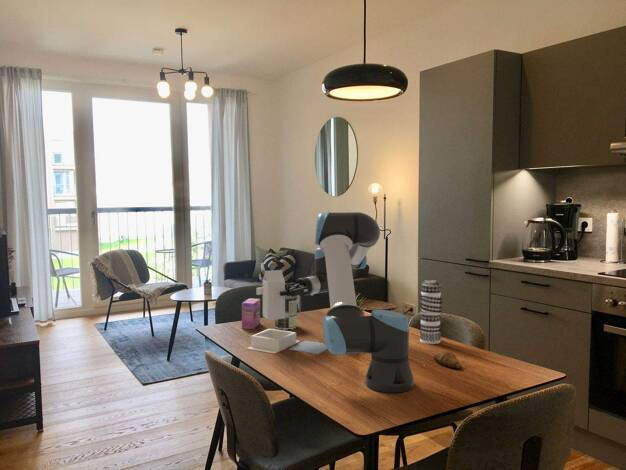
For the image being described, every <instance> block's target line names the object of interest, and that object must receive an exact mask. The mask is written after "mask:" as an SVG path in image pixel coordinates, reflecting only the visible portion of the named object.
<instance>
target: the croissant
mask: <svg viewBox="0 0 626 470" xmlns="http://www.w3.org/2000/svg"><path fill="white" fill-rule="evenodd" d="M433 360H435V362H437V363H438V364H440V365H441V366H445V367H447V366H448V368H450V367H451V369H453V368H455V369H454V370H460V369H461V366H462V365H461V364H460V361H459V358H457V355H456V354H455V353H453V352H450V351H443V352H438V353H435V354H433Z"/></svg>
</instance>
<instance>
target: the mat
mask: <svg viewBox="0 0 626 470" xmlns="http://www.w3.org/2000/svg"><path fill="white" fill-rule="evenodd" d="M288 350H289V351H293V352H294V351H295V352H300V353H305V354H311V355H321V354H322V353H324V352H326V351H328V349H327V347H326V345H325V342H324V343H322V342H317V341H311V340H304V341H302V342H299V343H298V344H295V345H293V346H291V347H290V348H288Z"/></svg>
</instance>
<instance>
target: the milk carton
mask: <svg viewBox="0 0 626 470" xmlns="http://www.w3.org/2000/svg"><path fill="white" fill-rule="evenodd" d="M285 283H286V281H285V277H284V274H283V269H275V270H264V274H263V277H262V287H263V294H262V317H263V318H264V319H266V320H268V321H270V320H271V321H272V320H274V321H275V319H284V318H285V296H284V297H278V298H272V291H276V290H282V289H285Z"/></svg>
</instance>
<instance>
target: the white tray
mask: <svg viewBox="0 0 626 470" xmlns="http://www.w3.org/2000/svg"><path fill="white" fill-rule="evenodd" d="M250 342H251V343H250V346H249V347H247V348H246V350H251V351H257V352H261V353H262V352H263V353H267V354H274V355H275V354H278V353H279V352H281V351H284V350H285V349H289V347H290V348H291V347H293V346H295V345H297V343H298V344H299V343H301V341H300V340H298V339H297V332H294V331H291V330H290V331H289V330H281V329H276V328H268V329H265V330H262V331H260V332H258V333H255V334H253V335H251V336H250Z"/></svg>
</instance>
